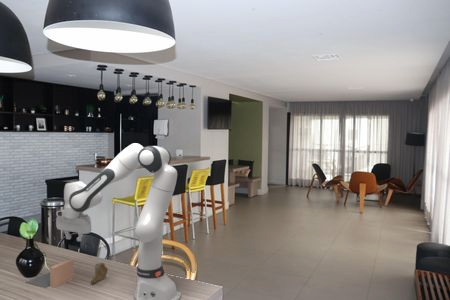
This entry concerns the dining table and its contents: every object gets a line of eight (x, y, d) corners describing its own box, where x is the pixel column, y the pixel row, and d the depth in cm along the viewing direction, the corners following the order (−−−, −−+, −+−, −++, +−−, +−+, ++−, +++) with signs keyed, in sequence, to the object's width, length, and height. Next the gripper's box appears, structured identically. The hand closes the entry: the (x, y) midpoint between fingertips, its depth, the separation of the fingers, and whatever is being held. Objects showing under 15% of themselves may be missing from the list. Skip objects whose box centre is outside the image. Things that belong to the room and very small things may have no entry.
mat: (70, 276, 193) (70, 275, 193) (45, 287, 178) (45, 287, 178) (51, 271, 198) (51, 271, 198) (25, 282, 184) (25, 282, 184)
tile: (73, 278, 189) (73, 260, 189) (54, 287, 178) (54, 268, 178) (69, 277, 191) (68, 259, 190) (50, 286, 180) (49, 267, 179)
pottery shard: (93, 286, 181) (93, 266, 180) (87, 284, 183) (87, 265, 182) (109, 278, 190) (110, 260, 190) (104, 277, 192) (104, 258, 192)
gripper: (94, 213, 178) (94, 241, 179) (63, 209, 186) (64, 235, 187) (84, 216, 173) (84, 244, 173) (53, 211, 181) (53, 239, 181)
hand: (73, 240), depth 180 cm, fingers open, 5 cm apart
